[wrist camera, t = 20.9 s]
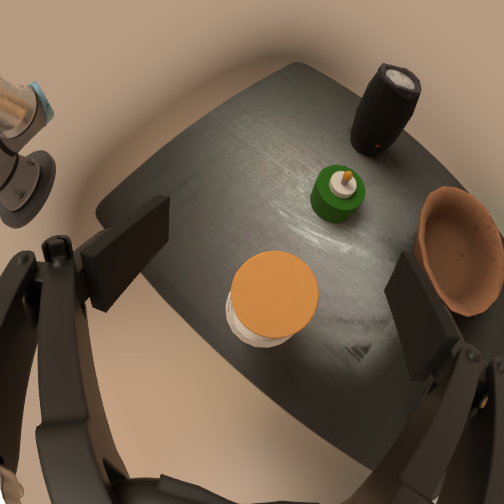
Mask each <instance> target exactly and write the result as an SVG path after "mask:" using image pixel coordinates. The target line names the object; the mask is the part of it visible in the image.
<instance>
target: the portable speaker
mask: <svg viewBox="0 0 504 504" xmlns="http://www.w3.org/2000/svg"><path fill="white" fill-rule="evenodd" d="M420 93H421V85H420V81H419V79H418V78H417V77H416V76H415V75H414V74H413V73H412V72H411V71H409V70H407V69H406V68H400V67H397V66H392V65H388V64H385V63H383V64H382V65H381V66H380V67H379V69H378V72H377V73H376V74H375V76H374V77H373V78H372V80H371V81H370V82H369V84H368V86H367V88H366V90H365V93H364V95H363V97H362V99H361V102H360V104H359V106H358V108H357V111H356V115H355V119H354V123H353V126H352V130H351V140H350V141H351V143H352V145H353V147H354V148H355V149H356V150H357V151H358V152H364V153H367V154H370V155H375V156H376V157H377V156H379V155H381V154H382V153H383V152H384V151H385V150H386V149H387V148H388V147H389V146H390V145H392V144H393V143H394V142H395V140H396V139H397V138H398V136H399V135H400V133H401V132H402V130H403V129H404V127H405V126H406V124H407V123H408V121H409V120H410V118H411V116H412V115H413V112H414V110H415V107H416V104H417V102H418V99H419V96H420Z"/></svg>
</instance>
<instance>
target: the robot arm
mask: <svg viewBox="0 0 504 504" xmlns="http://www.w3.org/2000/svg"><path fill="white" fill-rule="evenodd" d="M53 116H54V111H53V109H52V107H51V106H50V104H49V102H48V101H47V99H46V97H45V95H44V93H43V92H42V90H41V88H40V86H39V85H38V83H37V82H32V83H31V84H29V85H28V86H16V87H15V86H14V85H12V84H11V83H9V82H8V81H7V80H6V79H4V78H3V77H1V76H0V200H1V202H2V203H3V205H4V206H5V208H6V209H8V210H9V211H11V212H17V211H19V210H21V209H22V208H24V207H25V206H26V205H27V204H28V203H29V201H30V200H31V199H32V197H33V195H34V194H35V192H36V190H37V188H38V185H39V182H40V179H41V166H40V164H39V163H38V162H37V161H35V160H34V159H31V158H28V157H25V156H21V155H19V154H18V152H19V151H20V150H21V149H22V148H23V147H24V146H25V145H26V144H27V143H28V142H29V141H30V140H31V138H33V137H34V136H35V135H36V134H37V133H38V132H39V131H40V130H41V129H42V128H43V127H45V126H46V125H47V123H48V122H49V121H50V120H51V119H52V118H53ZM169 203H170V197H167V196H161V195H157V196H155V197H154V198H152V199H151V200H149V201H148V202H146V203H145V204H143V205H142V206H141V207H139V208H138V209H136V210H135V211H133V212H132V213H131V214H129V215H128V216H126V217H125V218H124V219H122V220H121V221H120V222H118V223H117V224H116V225H114V226H113V227H112V228H107V229H104V230H102V231H100V232H98V233H97V234H95V235H94V236H93V237H92V238H90V239H89V240H88V241H87V242H85V243H84V244H83V245H82V246H80V247H79V248H77V249H76V250H75V251H74V252H73V250H72V244H71V239H70V237H68V236H65V235H57V236H53V237H50V238H48V239H47V240H45V241H44V242H43V244H42V250H43V254H44V258H45V262H37V261H36V257H35V254H34V252H32V251H21V252H19V253H18V254H16V255H14V257H13V258H12V259H11V260H10V262H9V263H8V265H7V267H6V268H5V270H4V271H3V273H2V275H1V276H0V504H21V502H20V498H21V497H23V495H24V490H23V487H22V485H21V484H20V483H19V482H18V480H17V478H16V476H15V475H16V471H17V466H18V460H19V451H20V440H21V428H22V418H23V411H24V404H25V397H26V391H27V386H28V381H29V376H30V371H31V366H32V363H33V358H34V354H35V351H36V347H37V343H38V384H39V398H40V408H41V416H42V422H41V425H39V426H37V427H36V431H35V435H36V444H37V449H38V454H39V459H40V464H41V468H42V472H43V476H44V480H45V484H46V487H47V491H48V494H49V497H50V500H51V503H52V504H238V503H235V502H232V501H230V500H227V499H225V498H223V497H221V496H219V495H217V494H214V493H212V492H210V491H208V490H206V489H204V488H202V487H200V486H198V485H194V484H191V483H187V482H184V481H181V480H178V479H174V478H172V477H168V476H166V475H163V474H161V475H160V478H159V479H158V478H132V479H130V477H129V474H128V472H127V470H126V468H125V465H124V463H123V461H122V459H121V457H120V456H119V454H118V452H117V449H116V447H115V444H114V441H113V438H112V435H111V432H110V428H109V425H108V422H107V418H106V415H105V411H104V407H103V403H102V399H101V395H100V391H99V386H98V382H97V377H96V372H95V367H94V362H93V356H92V350H91V343H90V336H89V328H88V320H87V310H86V305H85V301H86V300H87V299H88V298H89V297H90V300H91V304H92V307H93V308H96V309H98V310H100V311H103V312H105V313H106V312H107V311H108V310H109V308H110V307H111V306H112V305H113V303H114V302H115V301H116V300H117V299H118V298H119V296H120V295H121V294H122V293H123V292H124V291H125V289H126V288H127V287H128V286H129V285H130V283H131V282H132V281H133V280H134V279H135V278H136V276H137V275H138V274H139V273H140V272H141V271H142V270H143V269H144V267H145V266H146V265H147V264H148V263H149V262H150V261H151V260H152V258H153V257H154V256H155V255H156V254H157V253H158V252H159V251H160V250H161V248H162V247H163V246H164V245H165V244H166V243H167V242H168V236H169ZM384 292H385V294H386V297H387V300H388V303H389V306H390V309H391V312H392V315H393V318H394V321H395V324H396V328H397V331H398V334H399V338H400V341H401V344H402V348H403V352H404V355H405V359H406V363H407V366H408V370H409V374H410V379H411V381H420V382H424V381H425V380H426V379H427V378H428V377H429V376H430V375H431V373H432V374H433V378H434V380H433V381H432V382H431V383H430V384H429V385H428V386H427V387H426V388H425V389H424V390H423V391H422V392H421V393H420V395H423V394H424V395H423V397H422V399H421V401H420V403H419V404H418V406H417V408H416V410H415V411H414V413H413V415H412V416H411V418H410V420H409V421H408V423H407V424H406V426H405V428H404V429H403V431H402V432H401V434H400V435H399V437H398V438H397V440H396V441H395V443H394V444H393V445H392V447H391V448H390V450H389V451H388V452H387V454H386V455H385V456H384V458H383V459H382V460H381V462H380V463H379V464H378V466H377V467H376V468H375V469H374V471H373V472H372V473H371V474H370V476H369V477H368V478H367V479H366V480H365V482H364V483H363V484H362V485H361V486H360V487H359V488H358V489H357V491H356V492H355V493H354V494H353V495H352V496H351V497H350V498H349V499H347V500H346V501H345V502H343V503H342V504H434V503H433V502H432V501H431V497H432V495H433V493H434V491H435V489H436V488H437V486H438V484H439V482H440V480H441V478H442V476H443V474H444V472H445V470H446V468H447V470H446V474H445V478H444V481H443V484H442V488H441V491H440V494H439V497H438V500H437V503H436V504H504V359H503V358H501V357H499V356H496V357H495V358H494V359H493V360H492V361H491V362H490V363H487V362H485V361H482V356H481V353H480V352H479V351H478V349H477V348H476V347H475V346H473V345H471V344H468V343H465V341H464V339H463V337H462V335H461V333H460V331H459V329H458V327H457V326H456V323H455V321H454V320H453V317H452V315H451V313H450V311H449V310H448V309H447V308H446V306H445V305H444V304H443V303H442V301H441V300H440V298H439V296H438V294H437V292H436V291H435V289H434V287H433V285H432V284H431V282H430V280H429V278H428V277H427V275H426V273H425V272H424V270H423V268H422V267H421V265H420V264H419V262H418V260H417V259H416V257H415V256H414V254H412V253H408V252H405V251H402V254H401V256H400V258H399V260H398V263H397V265H396V267H395V269H394V271H393V273H392V275H391V278H390V280H389V282H388V284H387V286H386V288H385V290H384ZM485 400H487V402H486V404H485V406H484V407H483V408H482V403H483V402H484V401H485ZM256 504H319V503H306V502H288V501H277V502H267V503H256Z"/></svg>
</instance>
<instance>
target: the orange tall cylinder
mask: <svg viewBox="0 0 504 504" xmlns="http://www.w3.org/2000/svg"><path fill="white" fill-rule="evenodd" d="M318 299H319V290H318V284H317V281H316V278H315V276H314V274H313V272H312V271H311V269H310V268H309V267H308V266H307V265H306V264H305V263H304V262H303V261H302V260H301V259H299V258H298V257H296V256H294V255H292V254H289V253H286V252H281V251H268V252H263V253H260V254H257V255H255V256H253V257H252V258H250V259H249V260H247V261H246V262H245V263H244V264H243V265H242V266H241V267H240V268H239V270H238V271H237V273H236V275H235V277H234V279H233V283H232V287H231V302H232V307H233V310H234V312H235V314H236V316H237V318H238V319H239V321H240V322H241V323H242V324H243V325H244V326H245V327H246V328H247V329H248V330H250V331H251V332H253V333H255V334H257V335H259V336H263V337H267V338H283V337H287V336H290V335H293V334H295V333H297V332H298V331H300V330H301V329H303V328H304V327H305V326H306V325H307V324H308V323H309V321H310V320H311V319H312V317H313V315H314V313H315V311H316V309H317V305H318Z"/></svg>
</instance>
